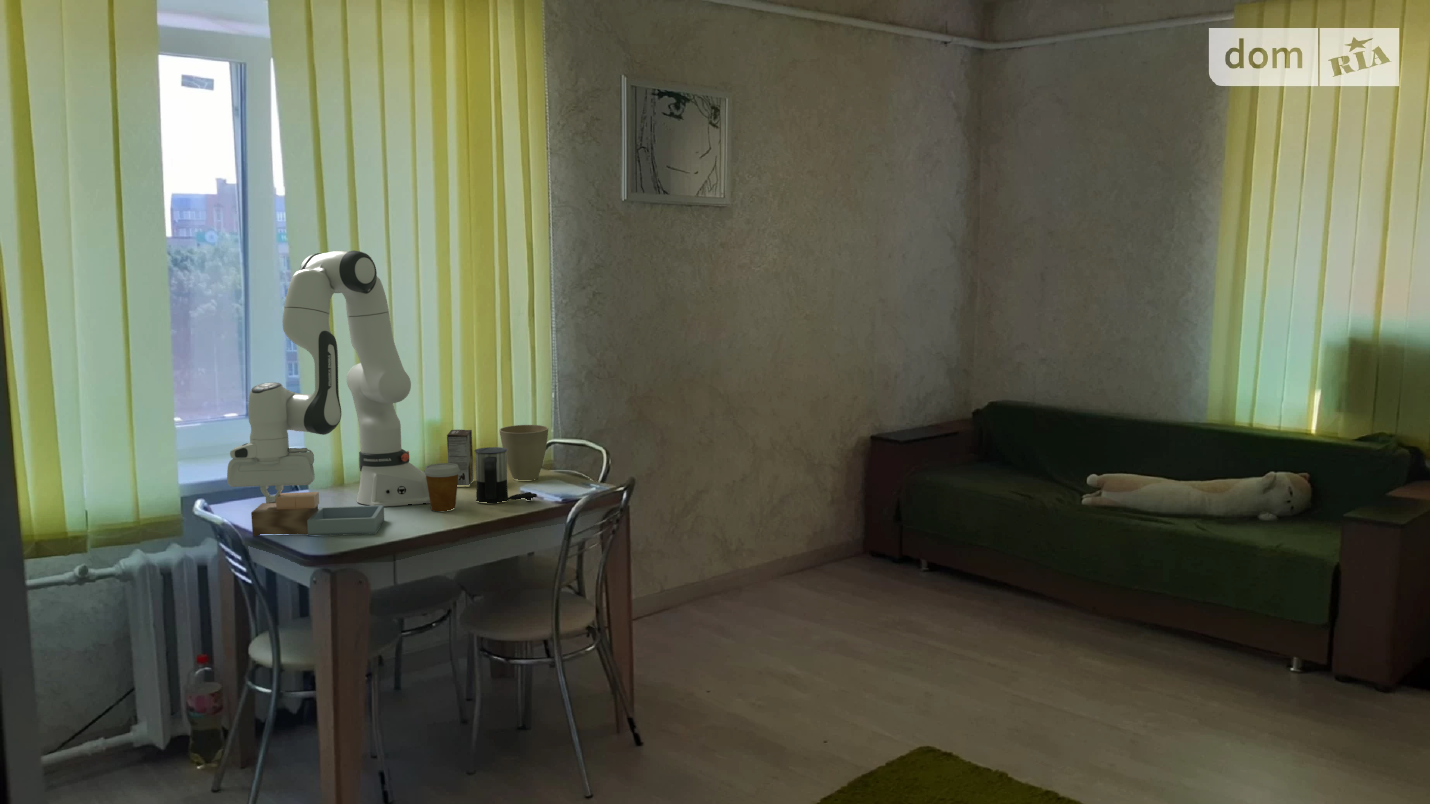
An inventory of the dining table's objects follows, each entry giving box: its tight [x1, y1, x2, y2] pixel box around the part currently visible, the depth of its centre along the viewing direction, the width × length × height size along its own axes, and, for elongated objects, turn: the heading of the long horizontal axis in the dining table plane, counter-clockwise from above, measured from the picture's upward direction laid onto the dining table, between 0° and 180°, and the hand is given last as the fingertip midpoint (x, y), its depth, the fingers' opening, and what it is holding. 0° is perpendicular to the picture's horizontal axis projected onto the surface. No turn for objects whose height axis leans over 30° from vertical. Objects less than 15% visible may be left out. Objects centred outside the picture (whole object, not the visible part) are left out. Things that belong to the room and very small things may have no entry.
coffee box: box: [446, 429, 475, 485], centre depth 319 cm, size 9×6×16 cm
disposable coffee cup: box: [423, 462, 460, 512], centre depth 288 cm, size 10×10×12 cm
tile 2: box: [295, 491, 320, 509], centre depth 267 cm, size 4×5×3 cm
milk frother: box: [474, 446, 538, 503], centre depth 297 cm, size 14×16×15 cm
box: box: [307, 505, 385, 536], centre depth 269 cm, size 16×14×4 cm
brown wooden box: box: [250, 502, 319, 537], centre depth 267 cm, size 14×10×6 cm
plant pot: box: [499, 424, 549, 481], centre depth 327 cm, size 15×15×16 cm
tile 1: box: [276, 492, 300, 509], centre depth 266 cm, size 4×5×3 cm
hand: (272, 502), depth 266 cm, fingers closed
